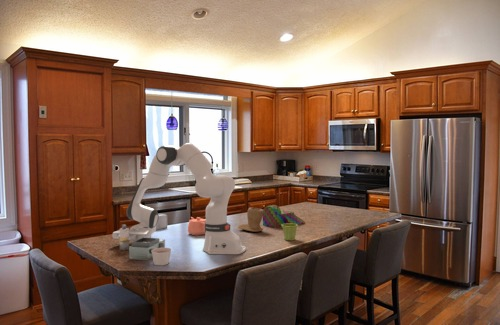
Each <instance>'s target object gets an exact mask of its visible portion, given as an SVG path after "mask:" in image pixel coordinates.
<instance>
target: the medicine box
mask: <svg viewBox="0 0 500 325" xmlns="http://www.w3.org/2000/svg"><path fill="white" fill-rule="evenodd" d="M158 216H159V218H158V222H157V225H156V230H162V229H165V228H168V215H167V214H165V213H164V214H163V213H162V214H158Z"/></svg>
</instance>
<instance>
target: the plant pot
mask: <svg viewBox="0 0 500 325" xmlns="http://www.w3.org/2000/svg"><path fill="white" fill-rule="evenodd" d="M298 226H299V225H297V224H293V223H287V224H282V226H281V228H282V230H283V238H284V239H283V240H286V241H291V242H292V241H295V240H296V233H297V227H298Z"/></svg>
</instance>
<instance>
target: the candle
mask: <svg viewBox="0 0 500 325" xmlns="http://www.w3.org/2000/svg"><path fill="white" fill-rule="evenodd" d="M151 252H152V257H153V258H152V261H153V264H154V265H155V266H165V265H168V264H169V263H170V261H171V260H170V259H171V253H172V249H171V248H170V247H165V248H155V249H153V250H151Z"/></svg>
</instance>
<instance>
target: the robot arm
mask: <svg viewBox="0 0 500 325" xmlns="http://www.w3.org/2000/svg"><path fill="white" fill-rule="evenodd" d="M172 166H173V167H175V166H176V167H178V166H179V167H182V166H186V168H187V169H188V170H189V171H190V172H191V174H192V175H193V177H194V180H195V182H196V183H195V186H194V188H195V192H196V194H197V196H199V197H201V198H205V199H206V198H207V199H209V198H210V200H209V202H208V204H207V205H206V207H205V219H206V223H205V234H204V237H205V238H204V242H203V243H204V244H203V247H202V251H203V252H205V253H206V254H209V255H240V254H243V253H244V252H245V251H247V247H246V246H245V245H242V240H241V237H240V236H239V235H238V234H237V233H235V232H234V231H232V230H231V226H232V224H231V223H229V222H228V218H227V217H228V216H227V215H228V210H227V209H228V204H229V200H230V197H231V195H232V193H233V191H234V190H235V188H236V182H235V180H234V178H233V177H232V176H230V175H226V174H219V175H216V174H213V172H212V170H211V169H212V164H211V162H210V161H209V159H208V158H206V155H204V154H203V152H202V151H201V150H200V149H199V148H198V147H197V146H195V144H193V143H191V142H186V143H184V144H182V145H181V146H178V145H162V146H159V147H158V149H157V150H156V153H155V155H153V158H152V161H151V162H150V166H149V169H148V172H147V174H146V176H145V177H143V178H141V179H140V181H139V183H138V185H137V187H136V189H135V192H134V194H133V196H132V199H131V201H130V202H129V205H128V206H127V208H126V217H127V218H128V219H129V220H132V221H136V222H138V224H135V225H132V226H131V227H130V228H129V237H128V240H129V241H132V242H133V241H136V240H138V239H140V238H142V237H143V238H152V235H153V234H154V233H155V232H156V230H157V229H156V225H157V222H158V218H159V216H158V215H159V213H158V210H157V209H155V208H152V207H149V206H146V205H143V204H142V203H141V202H142V199H143V197H144V195H145V192H146V191H147V190H148V189H157V188H160V187H161V188H162V187H163V186H165V184H166V182H168V176H169V172H170V169H171V167H172ZM112 238H113V239H114V240H117V241H118V240H119V241H120V231H119V230H116V231H113V232H112Z"/></svg>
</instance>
